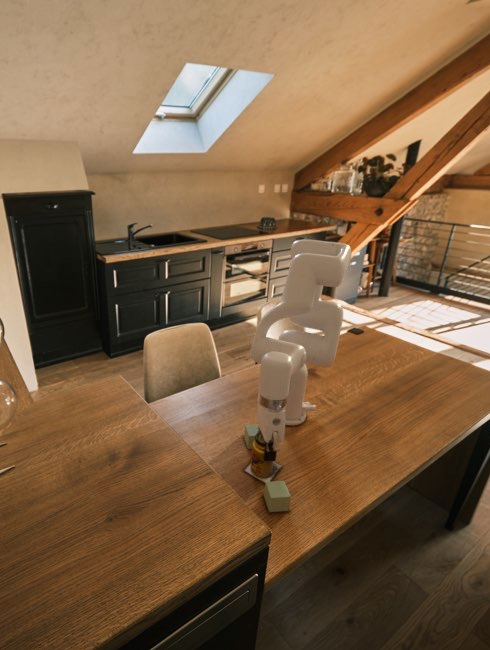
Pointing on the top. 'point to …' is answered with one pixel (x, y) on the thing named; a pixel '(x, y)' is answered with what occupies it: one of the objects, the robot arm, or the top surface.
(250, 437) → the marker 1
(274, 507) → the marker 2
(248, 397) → the top surface
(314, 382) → the top surface
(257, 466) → the condiment
